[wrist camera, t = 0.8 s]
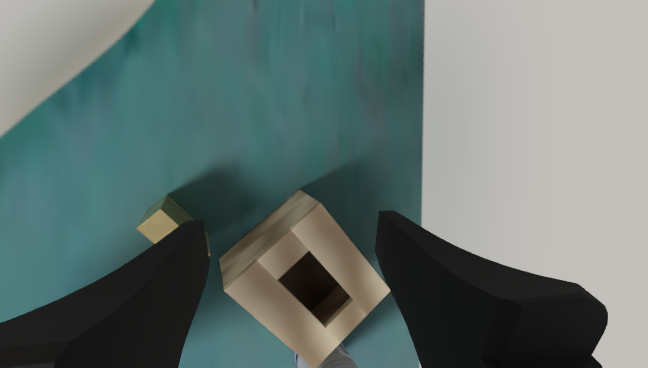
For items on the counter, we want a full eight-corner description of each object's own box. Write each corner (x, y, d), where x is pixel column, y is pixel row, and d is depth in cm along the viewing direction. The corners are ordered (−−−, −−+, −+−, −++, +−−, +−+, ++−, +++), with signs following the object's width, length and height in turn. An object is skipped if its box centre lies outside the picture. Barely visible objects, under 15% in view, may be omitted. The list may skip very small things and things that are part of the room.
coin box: (295, 328, 33) (314, 369, 27) (219, 258, 28) (224, 290, 23) (360, 264, 34) (390, 290, 29) (298, 188, 30) (320, 203, 24)
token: (191, 248, 27) (189, 273, 23) (147, 209, 25) (136, 228, 21) (208, 233, 27) (210, 254, 23) (167, 194, 26) (160, 209, 21)
